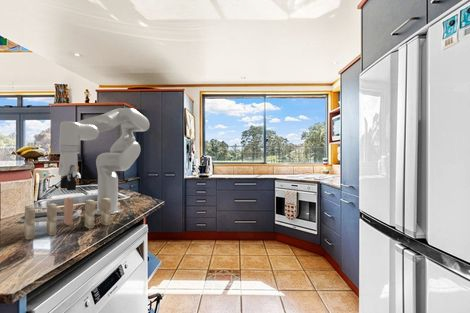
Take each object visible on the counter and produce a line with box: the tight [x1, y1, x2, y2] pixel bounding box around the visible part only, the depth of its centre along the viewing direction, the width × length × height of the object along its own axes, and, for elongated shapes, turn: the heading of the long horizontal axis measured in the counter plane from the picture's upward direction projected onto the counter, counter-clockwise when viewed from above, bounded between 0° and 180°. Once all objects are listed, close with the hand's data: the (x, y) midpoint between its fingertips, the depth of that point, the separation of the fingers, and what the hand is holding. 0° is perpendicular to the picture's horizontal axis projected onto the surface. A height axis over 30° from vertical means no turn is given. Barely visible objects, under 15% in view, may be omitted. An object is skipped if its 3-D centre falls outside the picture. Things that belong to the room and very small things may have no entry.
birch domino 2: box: [46, 202, 58, 236], centre depth 94 cm, size 2×5×11 cm, turn 49°
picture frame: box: [19, 209, 82, 223], centre depth 120 cm, size 16×3×21 cm
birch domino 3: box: [84, 199, 96, 229], centre depth 103 cm, size 2×5×11 cm, turn 48°
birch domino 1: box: [24, 205, 36, 241], centre depth 89 cm, size 2×5×11 cm, turn 48°
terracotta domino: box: [63, 196, 74, 226], centre depth 108 cm, size 2×5×11 cm, turn 48°
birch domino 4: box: [100, 198, 112, 226], centre depth 108 cm, size 2×5×11 cm, turn 48°
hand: (67, 189), depth 108 cm, fingers open, 9 cm apart
